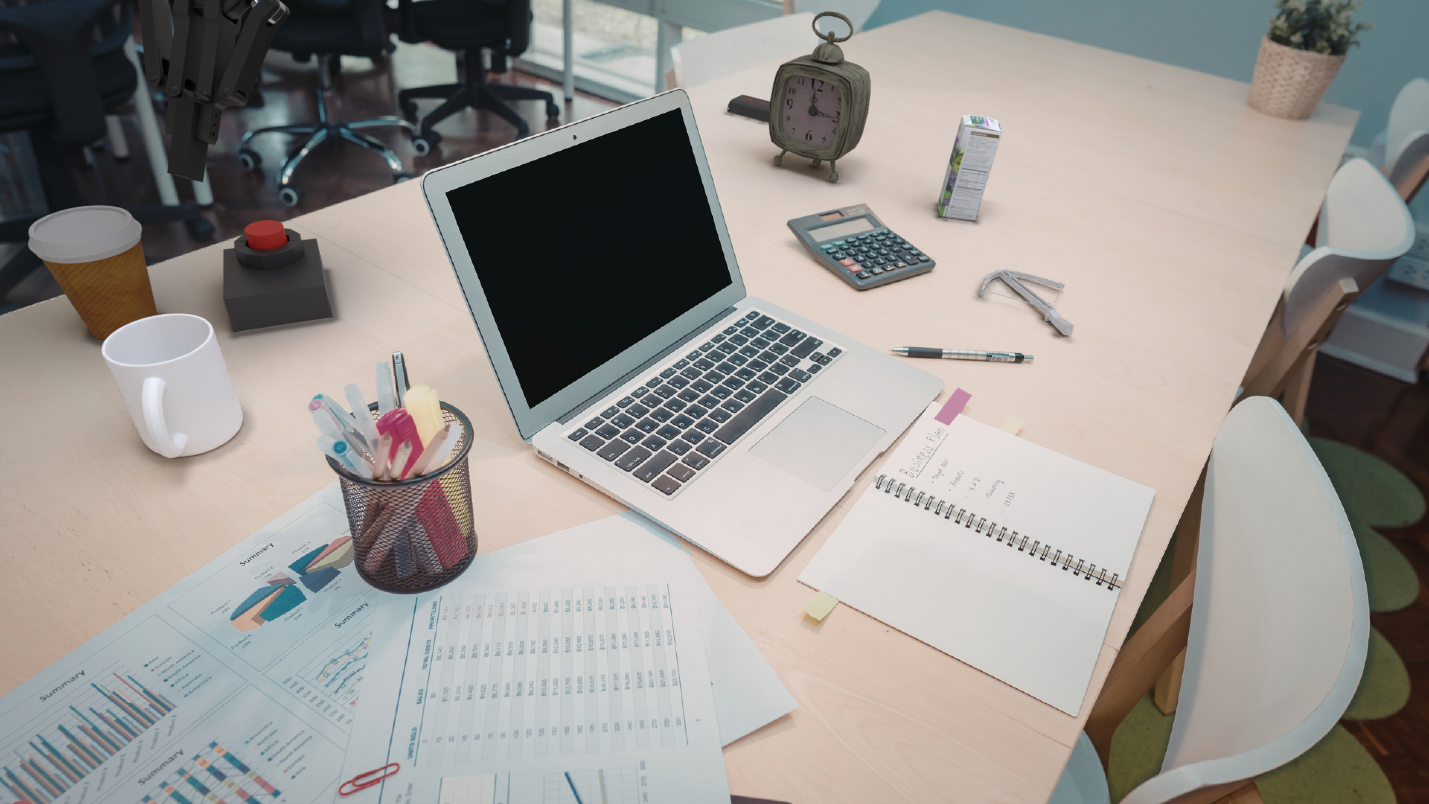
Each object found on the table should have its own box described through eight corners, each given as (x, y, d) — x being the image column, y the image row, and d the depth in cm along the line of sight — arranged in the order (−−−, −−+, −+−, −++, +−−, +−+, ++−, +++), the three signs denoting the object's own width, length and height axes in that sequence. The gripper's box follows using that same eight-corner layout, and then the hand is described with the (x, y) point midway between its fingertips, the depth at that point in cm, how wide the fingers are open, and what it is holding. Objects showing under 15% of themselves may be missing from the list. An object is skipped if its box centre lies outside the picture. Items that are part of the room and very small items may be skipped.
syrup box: (936, 202, 132) (959, 112, 123) (973, 207, 132) (999, 117, 123) (938, 217, 127) (963, 125, 119) (976, 222, 127) (1004, 130, 118)
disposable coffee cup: (148, 293, 94) (109, 195, 86) (193, 323, 89) (155, 223, 82) (56, 326, 87) (4, 223, 80) (98, 360, 83) (49, 255, 76)
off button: (248, 238, 94) (243, 222, 93) (286, 234, 96) (282, 218, 94) (249, 254, 91) (244, 237, 90) (288, 249, 93) (284, 232, 92)
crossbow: (958, 282, 112) (962, 269, 111) (1037, 277, 115) (1042, 264, 114) (1023, 339, 99) (1027, 324, 98) (1110, 331, 103) (1115, 317, 101)
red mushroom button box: (233, 279, 97) (218, 233, 94) (323, 267, 101) (312, 222, 98) (234, 332, 89) (217, 284, 85) (332, 317, 93) (321, 270, 89)
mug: (230, 481, 71) (193, 387, 65) (122, 494, 69) (72, 398, 63) (252, 399, 80) (221, 309, 74) (156, 408, 78) (116, 317, 72)
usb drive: (739, 105, 164) (741, 91, 162) (792, 119, 160) (794, 105, 158) (727, 111, 160) (728, 97, 159) (780, 126, 156) (782, 111, 154)
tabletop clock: (762, 165, 139) (780, 7, 124) (786, 151, 146) (806, -1, 130) (838, 188, 134) (867, 25, 119) (860, 172, 140) (890, 16, 125)
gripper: (116, -134, 67) (79, 153, 68) (275, -103, 67) (235, 182, 68) (175, -85, 74) (140, 173, 75) (317, -57, 74) (280, 199, 76)
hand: (185, 177), depth 72 cm, fingers closed
